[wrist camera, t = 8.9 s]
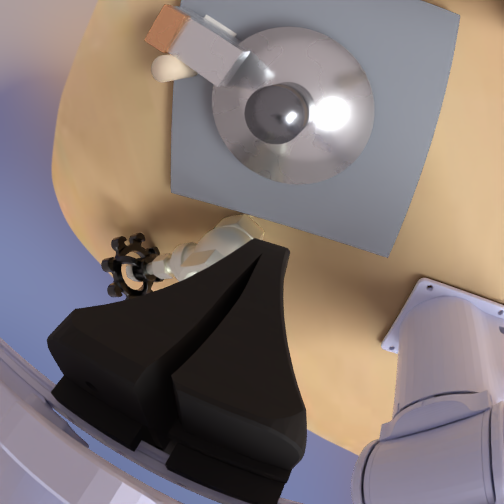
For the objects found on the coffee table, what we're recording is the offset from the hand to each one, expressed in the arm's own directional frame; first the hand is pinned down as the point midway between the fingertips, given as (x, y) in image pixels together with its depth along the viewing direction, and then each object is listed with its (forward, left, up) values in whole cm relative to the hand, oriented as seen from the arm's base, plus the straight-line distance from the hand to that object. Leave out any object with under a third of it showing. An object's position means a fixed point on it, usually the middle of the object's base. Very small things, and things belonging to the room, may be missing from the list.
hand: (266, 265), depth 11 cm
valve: (+8, +8, -11) cm, 16 cm away
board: (+2, -4, -10) cm, 11 cm away
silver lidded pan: (+4, -5, -9) cm, 11 cm away
